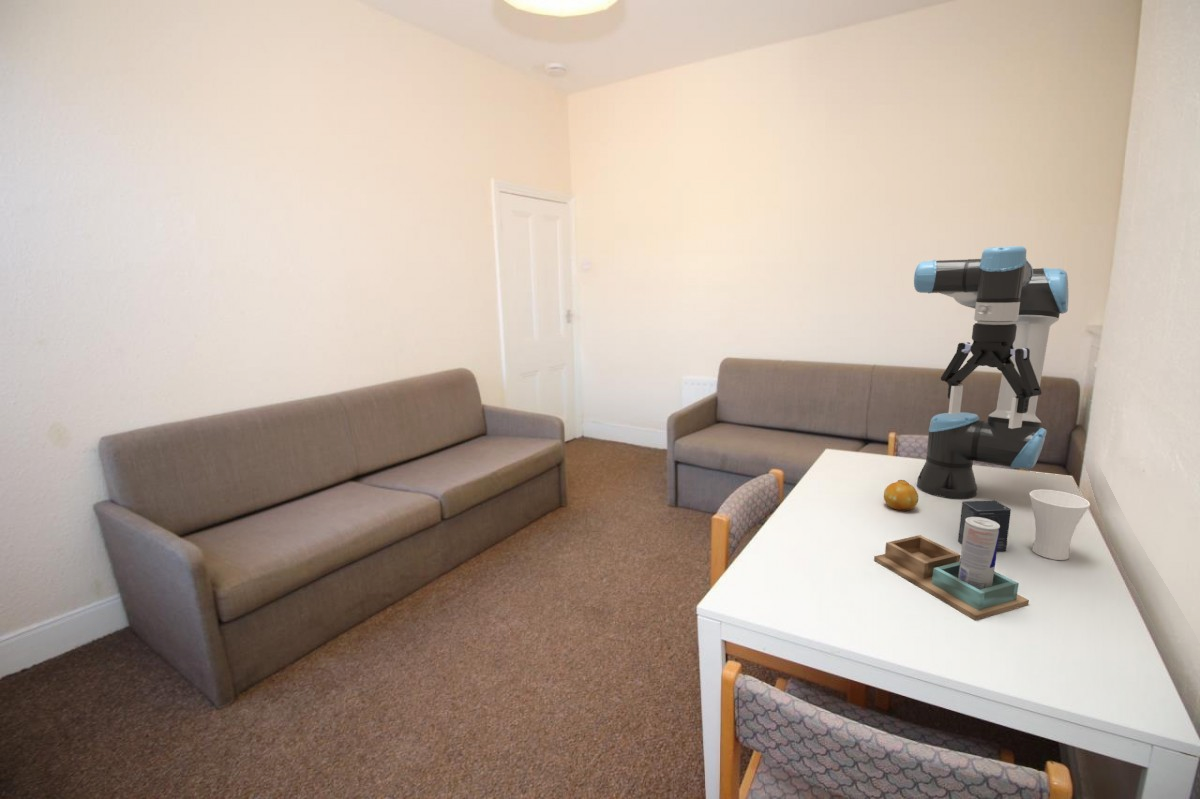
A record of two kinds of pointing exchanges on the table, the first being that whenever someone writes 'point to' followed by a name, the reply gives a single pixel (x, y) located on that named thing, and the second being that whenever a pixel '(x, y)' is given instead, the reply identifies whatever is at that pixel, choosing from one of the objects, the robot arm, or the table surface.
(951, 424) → the robot arm
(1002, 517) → the box
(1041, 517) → the cup
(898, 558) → the socket board
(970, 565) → the beverage can
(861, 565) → the table surface
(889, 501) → the fruit
